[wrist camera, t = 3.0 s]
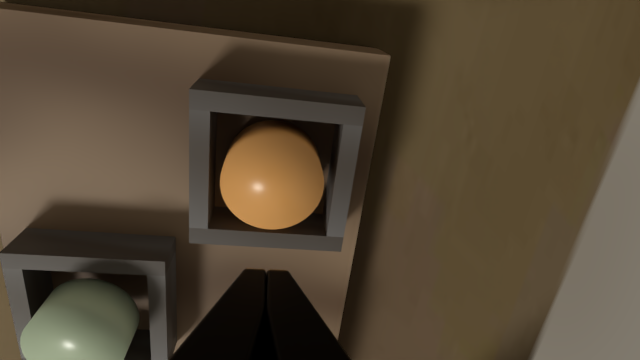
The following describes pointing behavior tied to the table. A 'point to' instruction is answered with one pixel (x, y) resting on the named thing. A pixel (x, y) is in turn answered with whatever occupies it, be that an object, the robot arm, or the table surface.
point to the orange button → (272, 175)
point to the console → (169, 161)
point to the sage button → (82, 323)
